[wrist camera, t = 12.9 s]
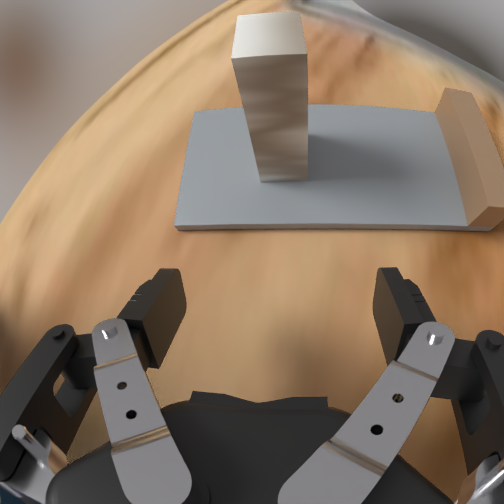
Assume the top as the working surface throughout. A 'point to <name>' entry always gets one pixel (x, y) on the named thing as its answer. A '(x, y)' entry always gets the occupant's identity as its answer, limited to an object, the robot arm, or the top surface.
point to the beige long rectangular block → (274, 92)
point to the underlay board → (350, 172)
